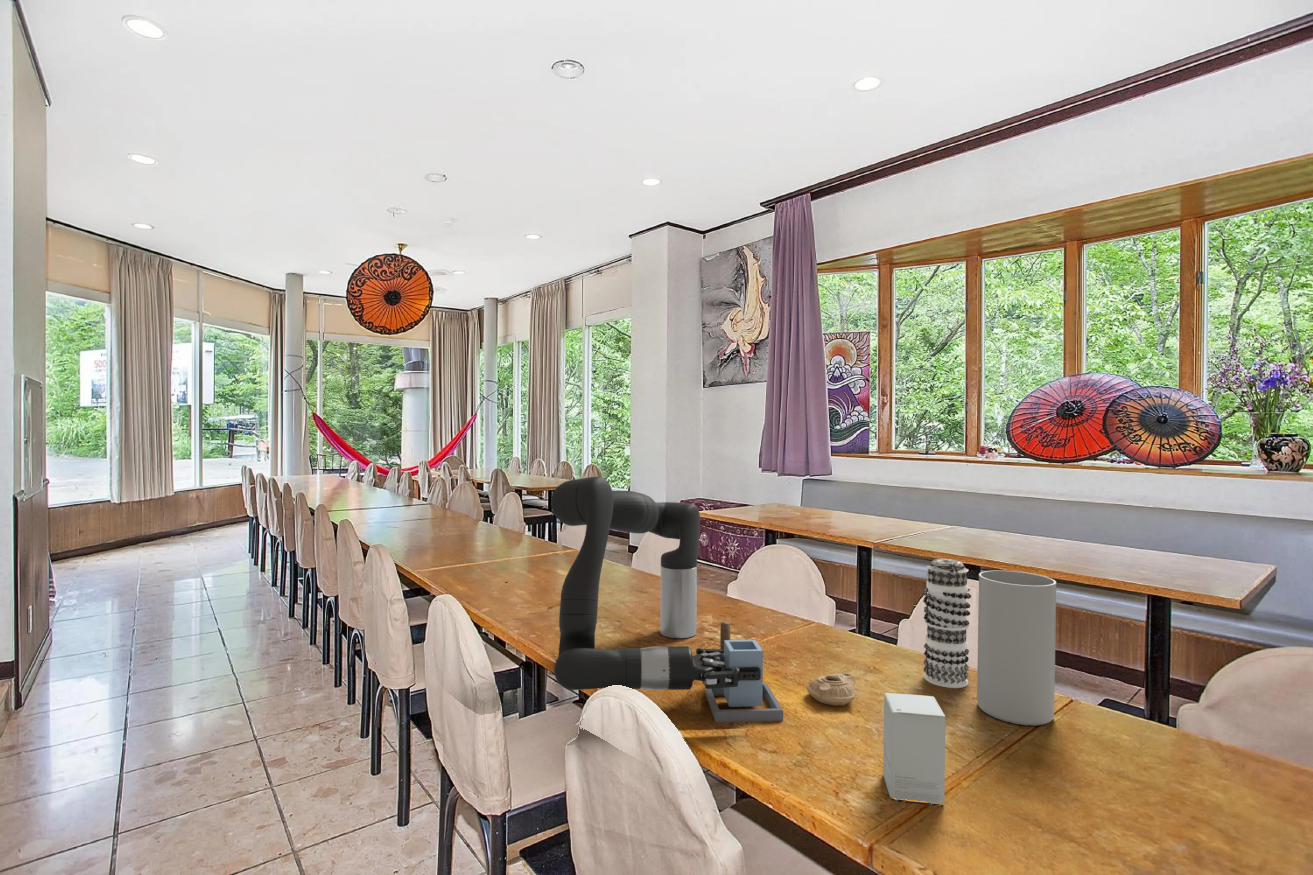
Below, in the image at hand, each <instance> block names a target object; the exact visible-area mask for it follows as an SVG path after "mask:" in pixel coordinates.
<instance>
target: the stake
mask: <svg viewBox="0 0 1313 875" xmlns="http://www.w3.org/2000/svg"><path fill="white" fill-rule="evenodd" d="M719 631H720V632H719V635H720V636H719V637H720V638H719V639H720V641H719V642H720V644H719V645H720V646H719V649H724V640H731V622H730V621H721V622H720V630H719ZM702 685H704V686H705V682H703V681H702Z"/></svg>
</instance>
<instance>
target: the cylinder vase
mask: <svg viewBox="0 0 1313 875" xmlns="http://www.w3.org/2000/svg"><path fill="white" fill-rule="evenodd" d="M977 603H978V605H977V606H978V612H977V615H978V616H977V621H978V623H977V676H976V677H977V678H976V680H977V682H976V687H977V688H976V690H977V691H976V701H977V702H976V703H977V706H978V707H979V709H980V710H982V711H983V712H984V713H986V714H987V715H989V716H990V717H992V718H994V719H998V720H1000V721H1003V722H1005V723H1009V722H1010V724H1015V725H1019V724H1020V725H1021V726H1029V725H1030V726H1043V725H1047V724H1049V723H1050V722H1052V720H1053V719H1054V717H1055V684H1056V683H1055V681H1056V680H1055V679H1056V676H1055V674H1056V673H1055V672H1056V622H1057V621H1056V615H1057V614H1056V612H1057V609H1056V608H1057V581H1056V580H1055V579H1053V578H1050V577H1048V576H1045V575H1041V574H1035V573H1030V572H1023V571H1013V570H985V571H981V572H979V573H978V602H977ZM1030 726H1029V727H1030Z"/></svg>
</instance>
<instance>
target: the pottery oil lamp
mask: <svg viewBox="0 0 1313 875" xmlns="http://www.w3.org/2000/svg"><path fill="white" fill-rule="evenodd" d="M855 686H856V679H855V676H854V674H852V673H850V672H849V673H848V672H837V673H834V674H825V675H822V676H818V677H816V678H815V679H812V680H811V681H810V682H809V683H808V684H807V685H806V690H807V693H808V694H809V695H810V696H812V698H814V699H815V700H816V701H817V702H819V703H821V704H824V705H828V706H833V707H836V706H837V707H844V706H845V705H846V704H848V703H850V702H851V701H853V700H855V699H856V697H857V693H856V691H855Z"/></svg>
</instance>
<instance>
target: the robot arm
mask: <svg viewBox="0 0 1313 875" xmlns="http://www.w3.org/2000/svg"><path fill="white" fill-rule="evenodd" d="M550 505H551V506H550V507H551V509H552V512H553V514H554V515H555V517H556V518H557V520H558V521H560V522H561V523H563V524H564V525H566V526H570V527H576V526H577V527H579V526H586V527H585V528H586V529H585V534H584V539H583V542H582V545H581V547H580V549H579V552H578V554H577V555H576V558H575V559H574V561H573V563H572V564H571V566H570V568H569V570H568V572H567V574H566V576H565V578H564V581H563V583H562V587H561V592H560V601H559V602H560V604H559V617H558V625H559V627H558V628H559V632H560V633H559V644H558V653H557V654H558V656H557V658H556V660H555V663H554V667H553V669H554V670H553V672H554V677H555V680H556V682H557V683H558V684H559V685H560V686H561V687H563V688H564V689H566V690H568V691H579V690H581V691H582V690H596V689H607V688H606V687H608V686H612V685H622V686H626V687H629V688H632V689H631V690H640V689H641V690H648V691H678V690H679V691H680V690H681V691H685V690H686V691H687V690H688V691H689V690H691V689H692V688H693V682H695V681H697V682H698V681H699V682H702V683H703V682H705V685H704V688H705V689H706V688H707V689H714V688H727V687H737V686H738V683H739V682H740V681H747V680H760V678H761V670H760V668H759V667H740V668H739V667H730V666H729V665H728V664H727V663H726V662H724V649H720V648H702V647H701V648H700V647H699V648H696V649H695V655H694V654H693V651H692V648H691V647H690V646H688V645H684V646H683V645H681V646H679V645H678V646H677V645H675V646H674V645H673V646H668V645H667V646H648V647H637V648H636V647H633V648H632V647H631V648H630V647H628V648H615V649H608V648H607V649H604V648H596V637H595V636H596V629H597V623H598V610H599V608H598V606H599V593H600V592H599V591H600V580H601V573H602V566H603V562H604V558H605V553H606V549H607V544H608V541H609V533H610V531H611V530H613V531H619V532H624V533H631V534H645V533H651V534H653V535H655V536H659V537H661V538H666V539H673V540H679V544H678V547H677V548H675V549H673V550H670V551H666V552H664V553H662V554H661V557H660V608H659V610H660V614H659V615H660V623H659V633H660V635H662V636H664V637H666V638H669V639H688V638H691V637H694V636H696V635H697V615H698V614H697V611H698V610H697V608H698V607H697V606H698V605H697V603H698V602H697V601H698V600H697V599H698V598H697V596H698V594H697V589H698V587H697V584H698V577H697V576H698V575H697V574H698V573H697V572H698V567H697V566H698V556H699V552H700V551H699V548H700V547H699V544H700V533H701V532H700V531H701V530H700V528H701V514H700V510H699V508H698V506H697V505H695V504H694V503H687V502H674V501H667V502H665V501H664V502H662V501H660V502H656V501H655V499H654V498H652V497H651V496H649V495H647V494H644V493H640V492H637V491H632V490H613V488H612V487H611V484H610V482H608V480H607V479H605V478H604V477H601V476H589V477H585V478H584V477H583V478H582V477H581V478H579V479H578V478H577V479H570V480H567V481H564V482H562V483H560V484H559V485H557V487H556V488H555V489H554V491H553V493H552V494H551V499H550ZM729 676H731V677H729ZM726 681H728V682H726Z"/></svg>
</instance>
